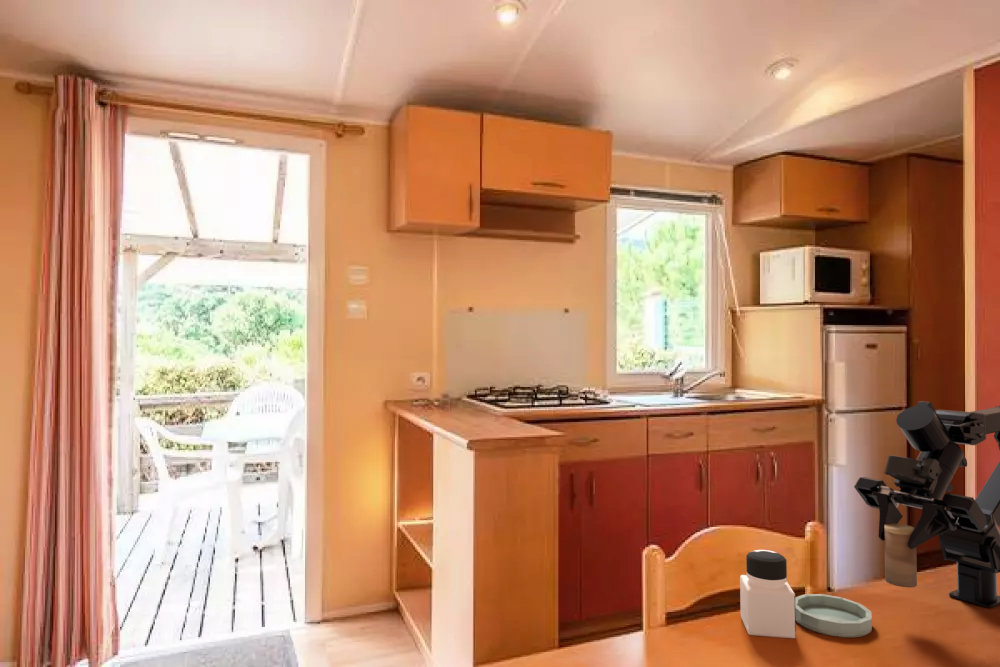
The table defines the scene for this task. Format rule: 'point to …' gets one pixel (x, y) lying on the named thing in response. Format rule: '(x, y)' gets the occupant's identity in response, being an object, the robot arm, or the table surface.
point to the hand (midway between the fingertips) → (894, 543)
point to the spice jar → (899, 556)
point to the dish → (833, 615)
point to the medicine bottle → (767, 596)
